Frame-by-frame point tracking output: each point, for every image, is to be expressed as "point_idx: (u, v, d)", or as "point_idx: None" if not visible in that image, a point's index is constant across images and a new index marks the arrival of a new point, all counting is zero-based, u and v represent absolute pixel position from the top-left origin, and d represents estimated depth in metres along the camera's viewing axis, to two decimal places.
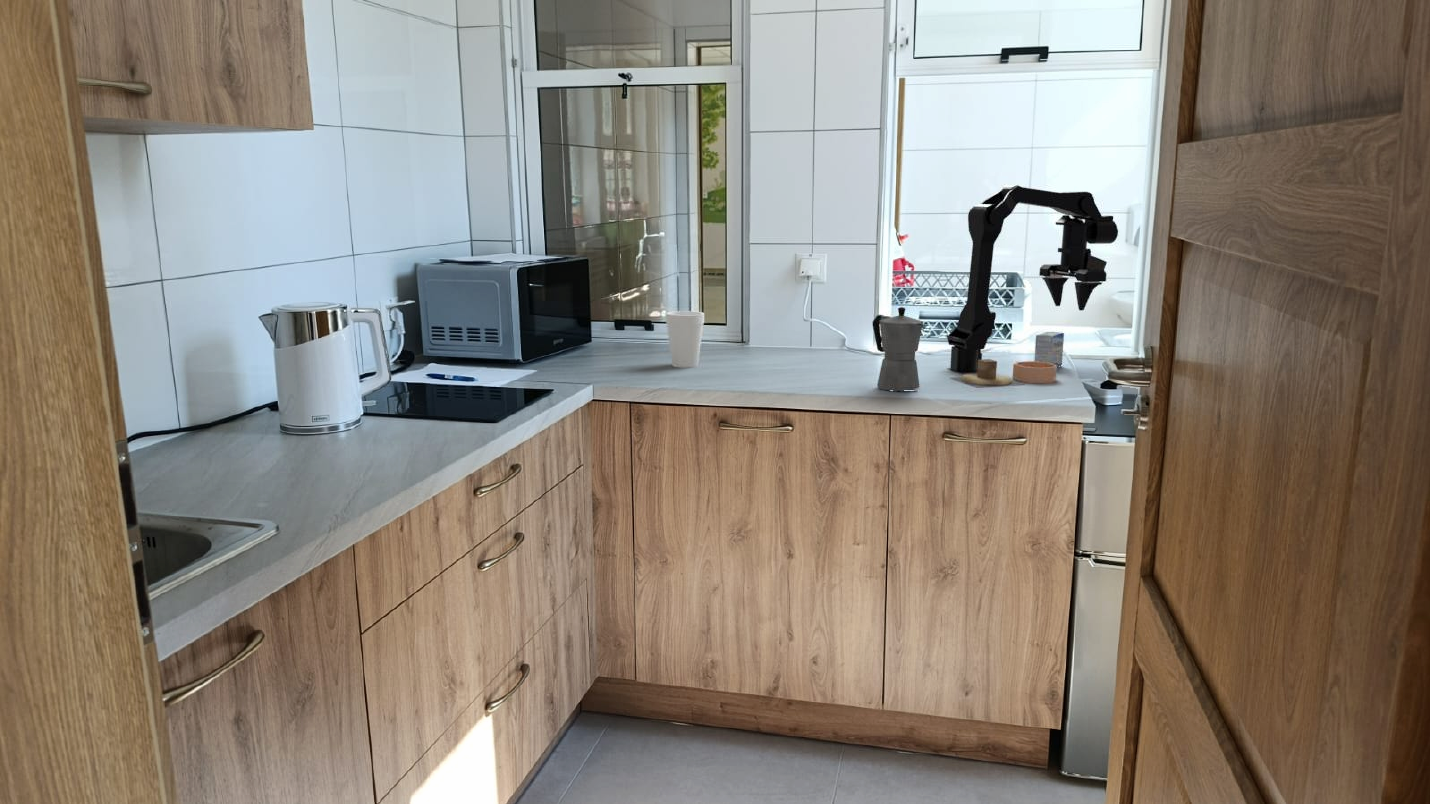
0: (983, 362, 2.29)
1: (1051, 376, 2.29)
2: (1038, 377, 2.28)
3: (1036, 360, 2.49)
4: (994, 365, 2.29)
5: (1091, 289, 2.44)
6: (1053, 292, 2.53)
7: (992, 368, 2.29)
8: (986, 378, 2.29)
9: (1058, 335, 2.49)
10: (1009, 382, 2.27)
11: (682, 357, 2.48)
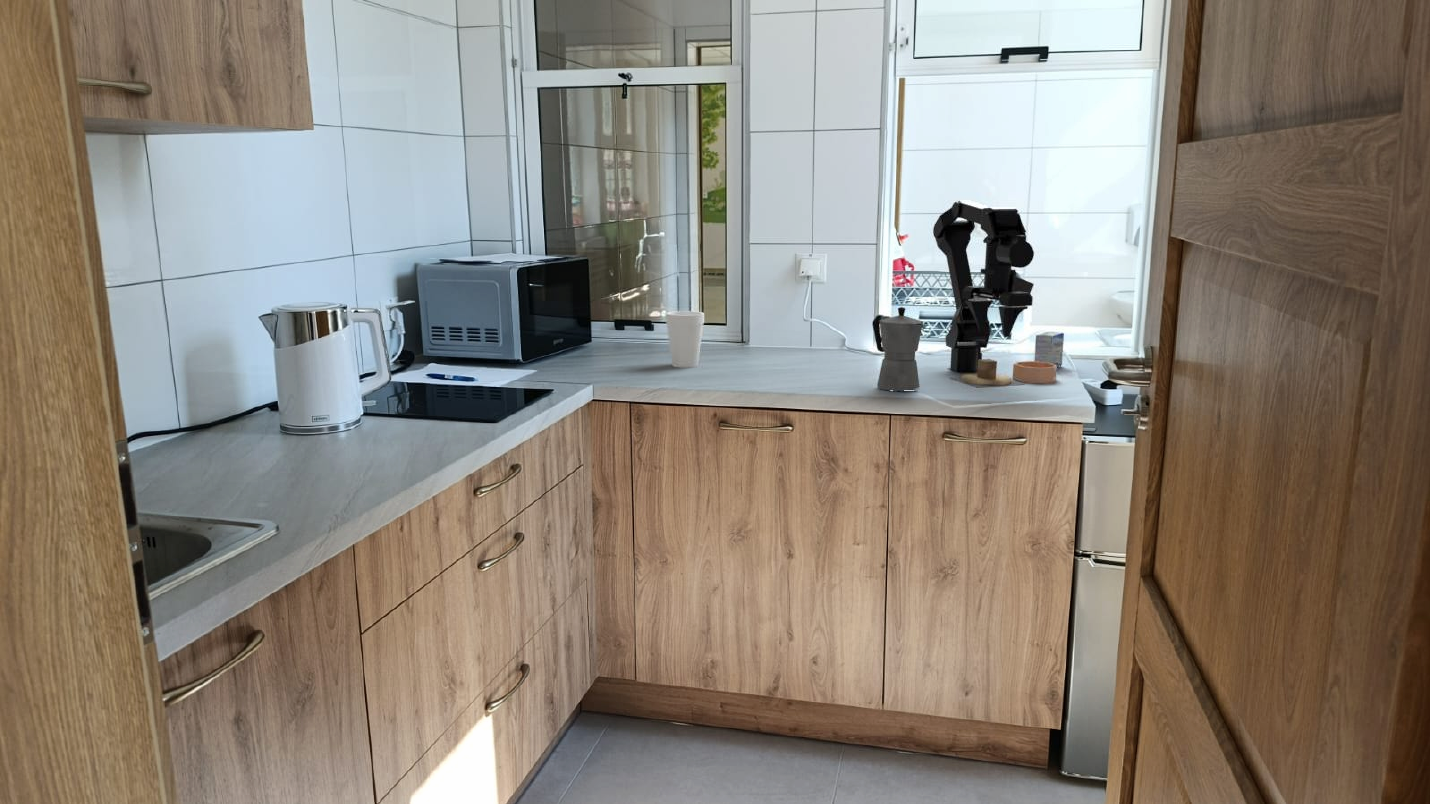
0: (983, 362, 2.29)
1: (1051, 376, 2.29)
2: (1038, 377, 2.28)
3: (1036, 360, 2.49)
4: (994, 365, 2.29)
5: (1016, 314, 2.23)
6: (977, 316, 2.32)
7: (992, 368, 2.29)
8: (986, 378, 2.29)
9: (1058, 335, 2.49)
10: (1009, 382, 2.27)
11: (682, 357, 2.48)
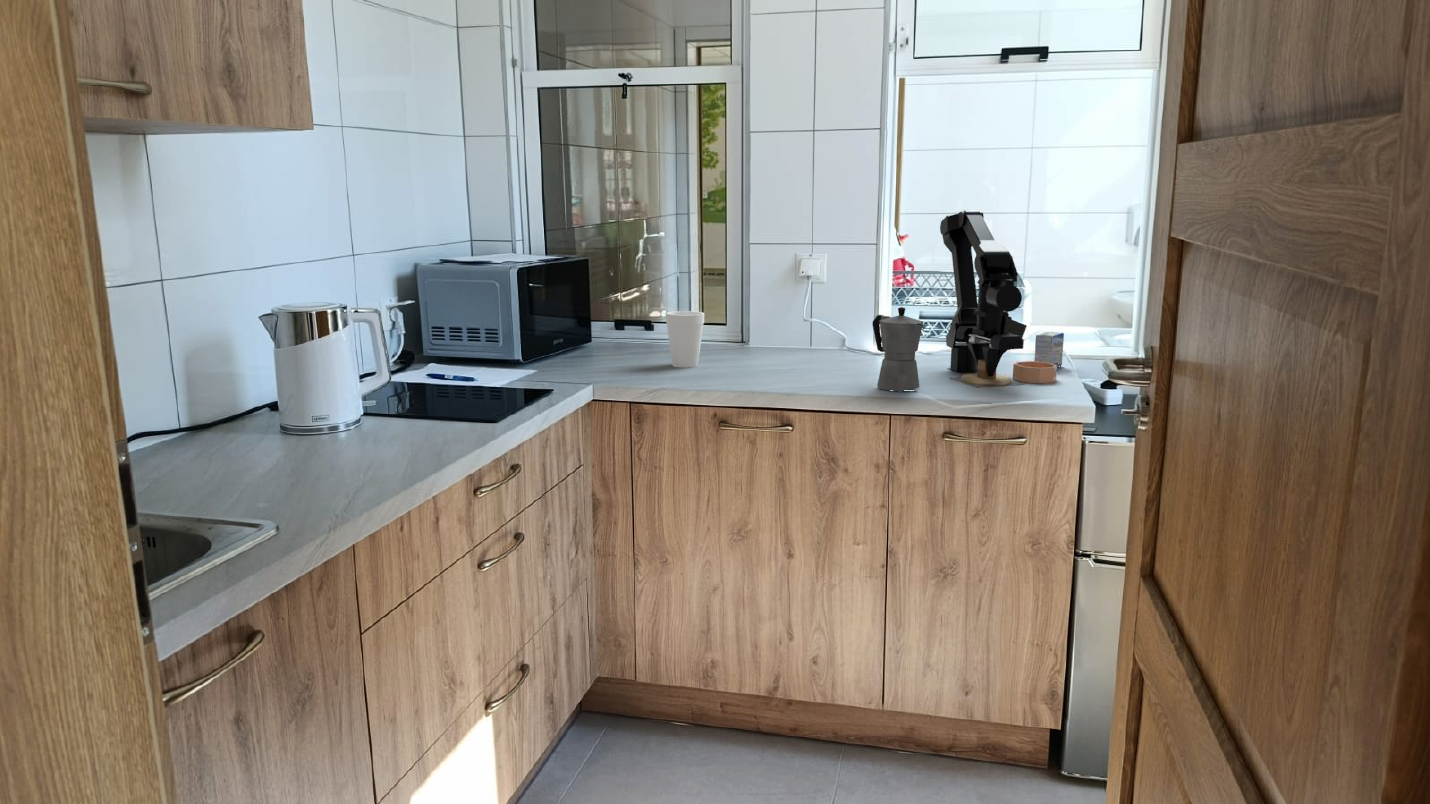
0: (983, 362, 2.29)
1: (1051, 376, 2.29)
2: (1038, 377, 2.28)
3: (1036, 360, 2.49)
4: None
5: (1000, 354, 2.27)
6: (977, 359, 2.31)
7: None
8: (986, 378, 2.29)
9: (1058, 335, 2.49)
10: (1009, 382, 2.27)
11: (682, 357, 2.48)
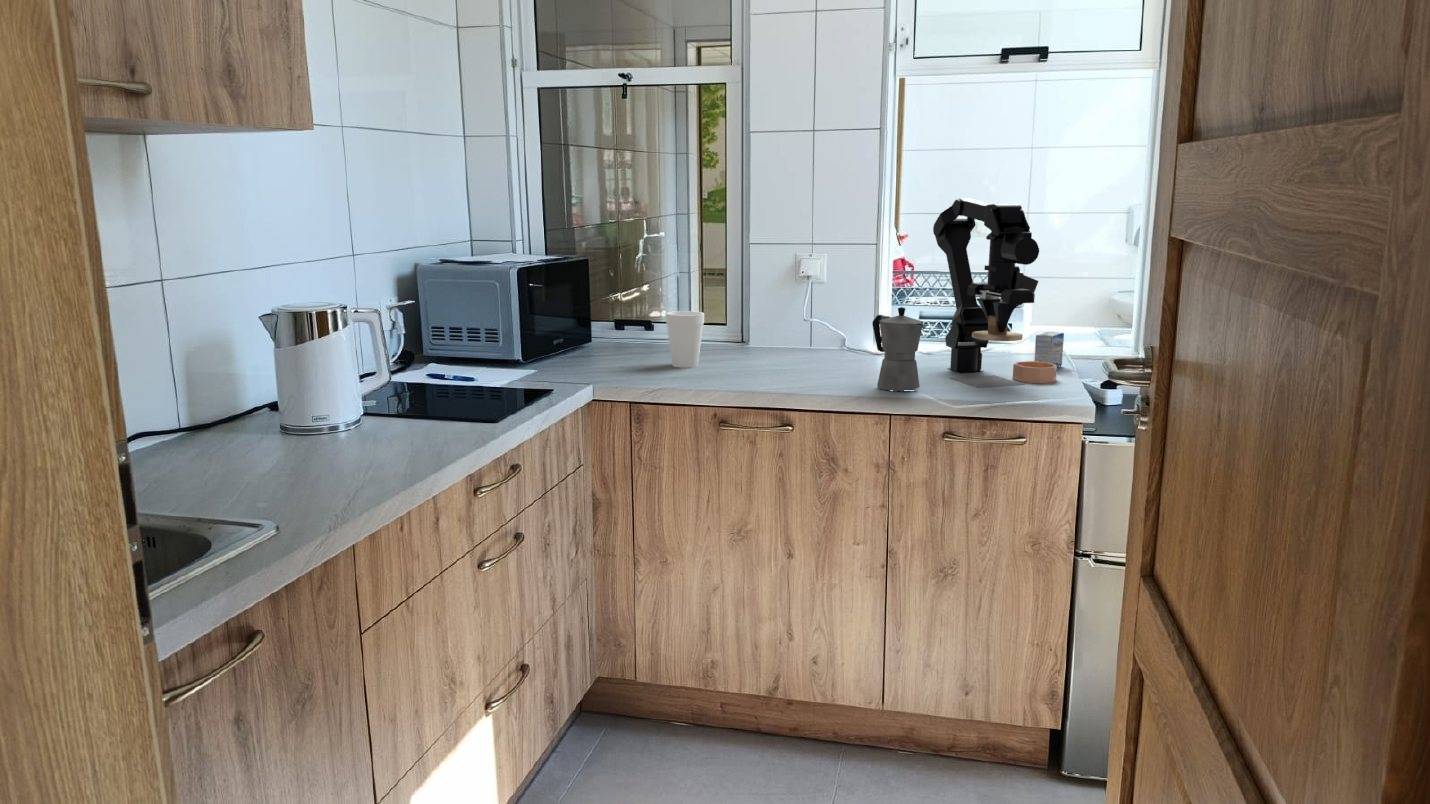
0: (994, 318, 2.27)
1: (1051, 376, 2.29)
2: (1038, 377, 2.28)
3: (1036, 360, 2.49)
4: None
5: (1011, 309, 2.25)
6: (988, 315, 2.29)
7: None
8: (997, 334, 2.27)
9: (1058, 335, 2.49)
10: (1020, 338, 2.26)
11: (682, 357, 2.48)
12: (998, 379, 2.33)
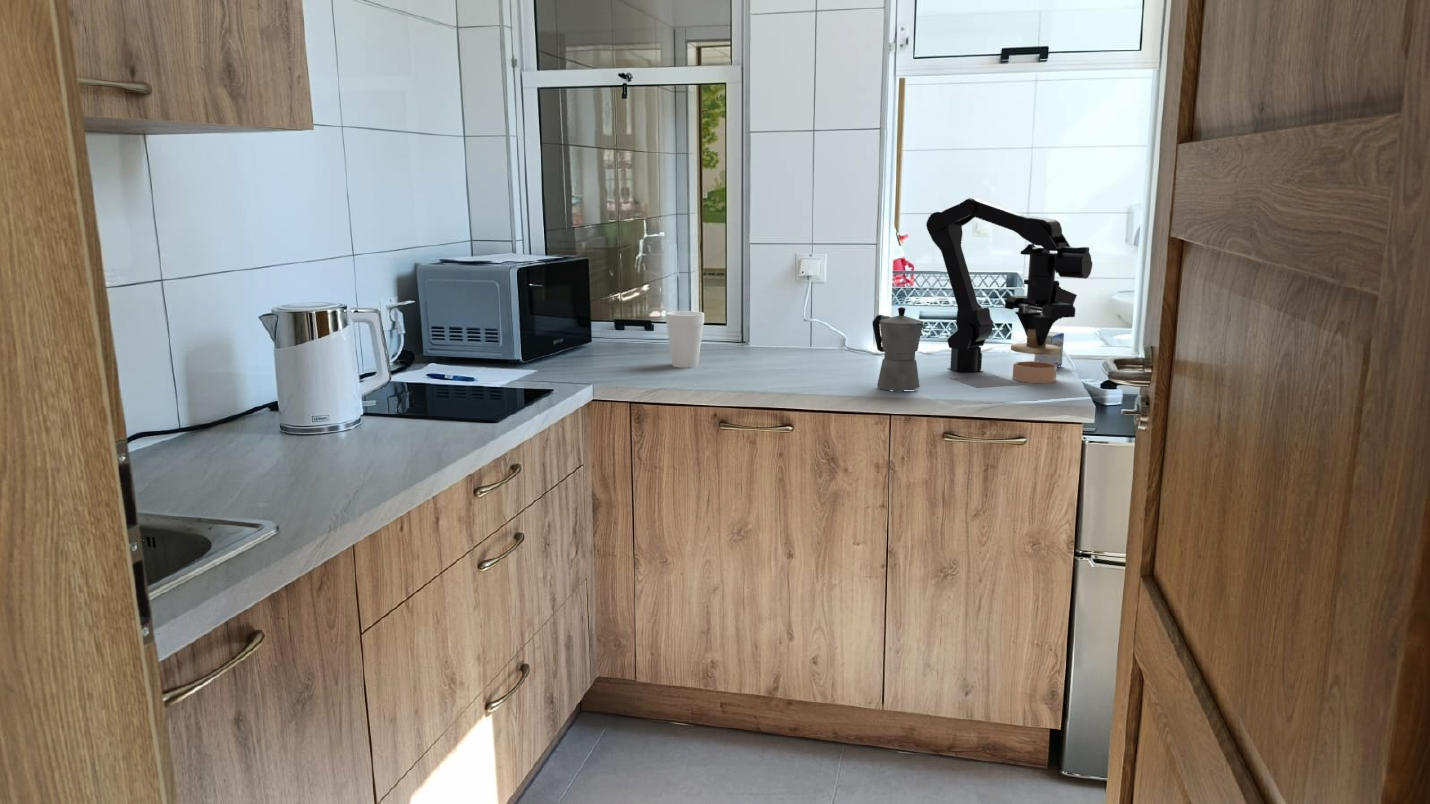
0: (1033, 331, 2.30)
1: (1051, 376, 2.29)
2: (1038, 377, 2.28)
3: (1036, 360, 2.49)
4: None
5: (1051, 323, 2.28)
6: (1027, 328, 2.32)
7: None
8: (1036, 347, 2.30)
9: (1058, 335, 2.49)
10: (1059, 351, 2.29)
11: (682, 357, 2.48)
12: (998, 379, 2.33)
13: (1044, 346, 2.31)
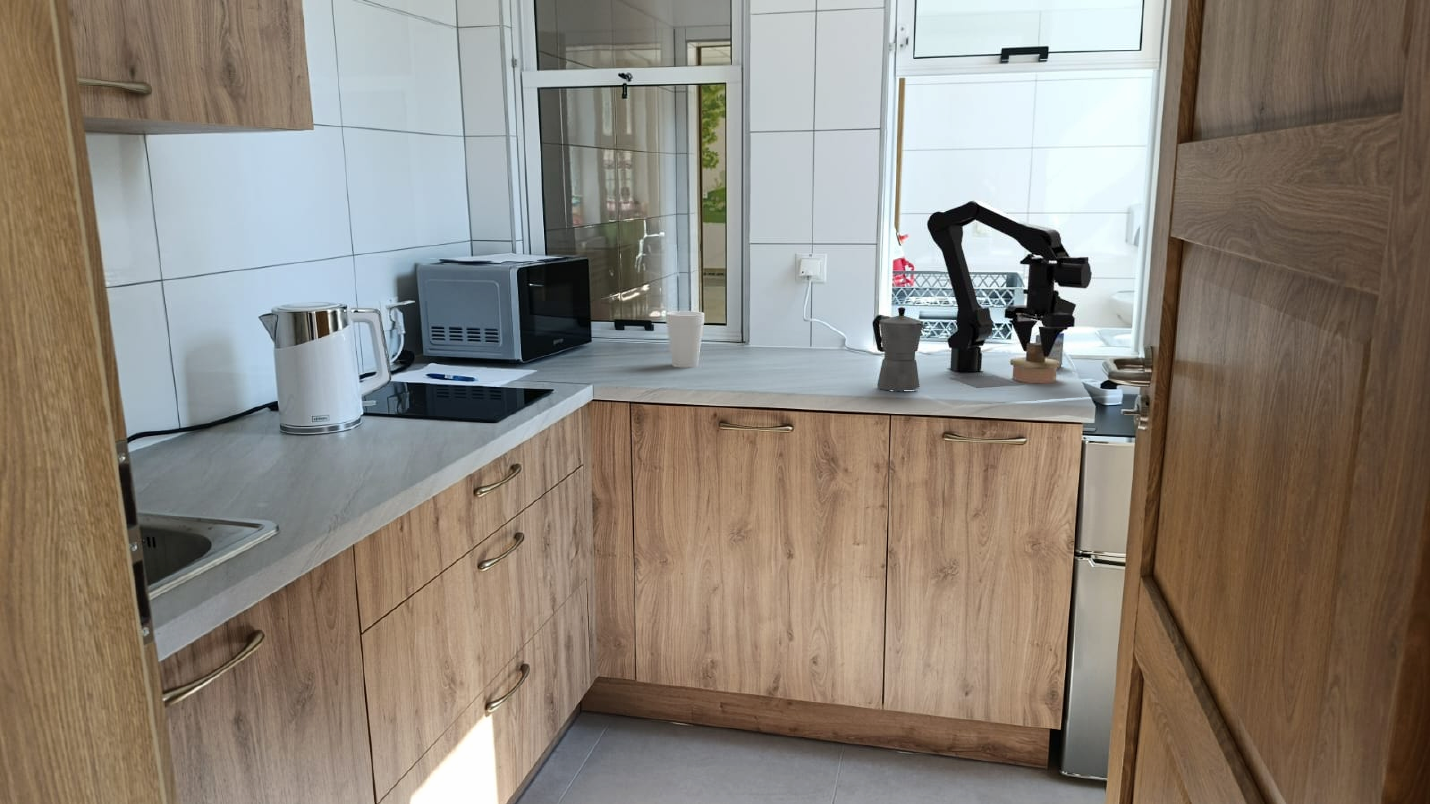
0: (1032, 345, 2.31)
1: (1051, 376, 2.29)
2: (1038, 377, 2.28)
3: None
4: None
5: (1056, 334, 2.26)
6: (1021, 336, 2.35)
7: (1041, 351, 2.31)
8: (1035, 361, 2.31)
9: (1058, 335, 2.49)
10: (1058, 365, 2.29)
11: (682, 357, 2.48)
12: (998, 379, 2.33)
13: (1043, 360, 2.31)
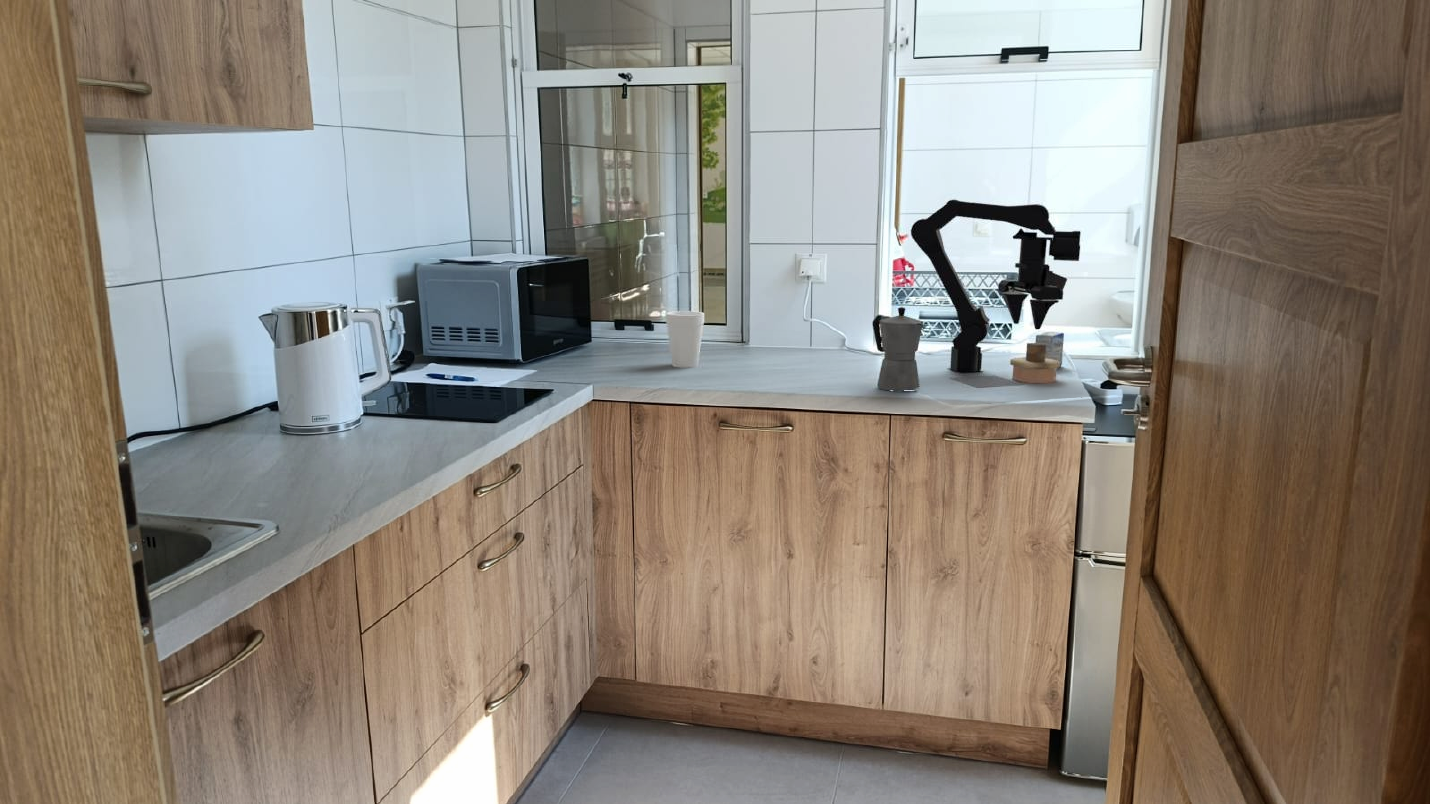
0: (1032, 345, 2.31)
1: (1051, 376, 2.29)
2: (1038, 377, 2.28)
3: None
4: (1043, 348, 2.31)
5: (1047, 307, 2.31)
6: (1011, 309, 2.41)
7: (1041, 351, 2.31)
8: (1035, 361, 2.31)
9: (1058, 335, 2.49)
10: (1058, 365, 2.29)
11: (682, 357, 2.48)
12: (998, 379, 2.33)
13: (1043, 360, 2.31)
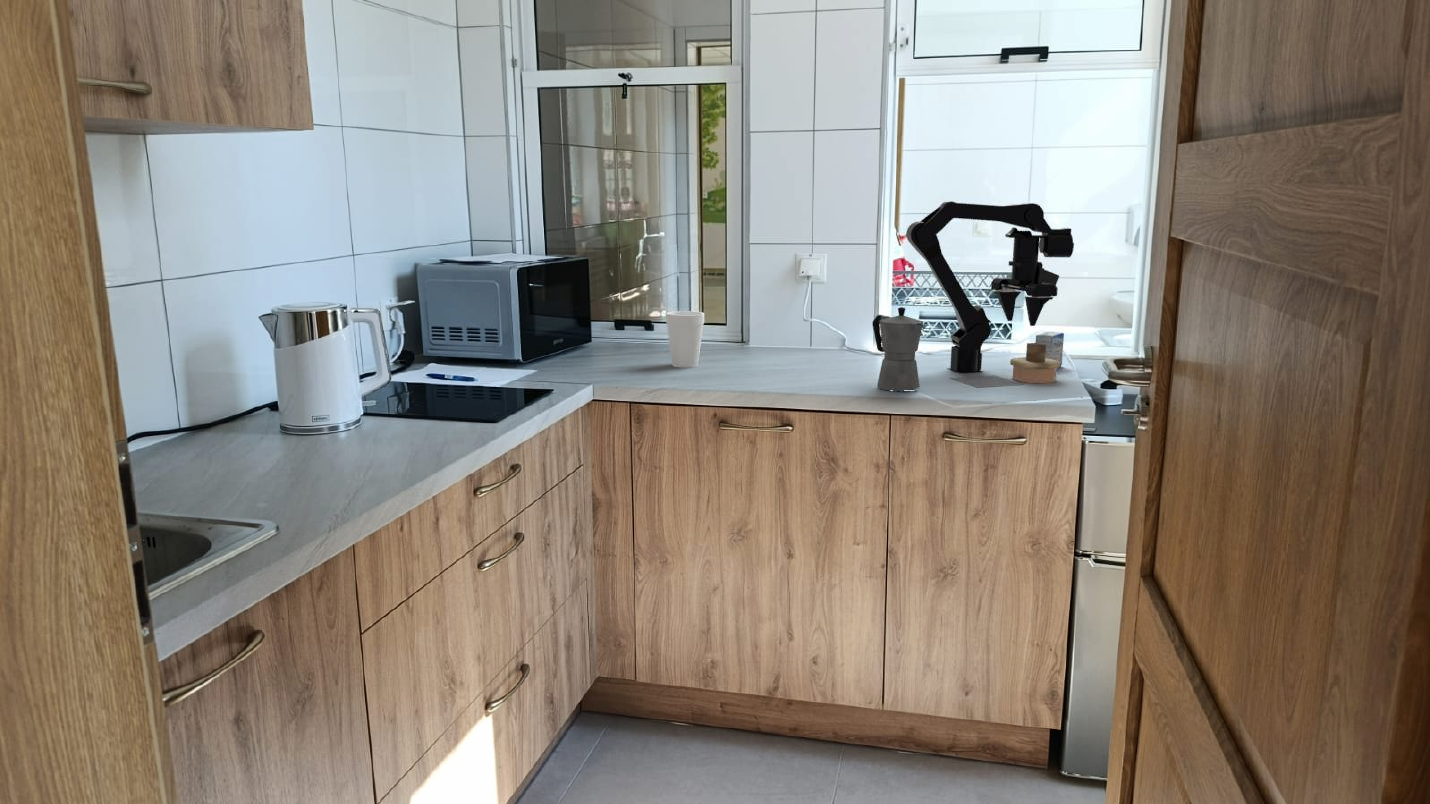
0: (1032, 345, 2.31)
1: (1051, 376, 2.29)
2: (1038, 377, 2.28)
3: None
4: (1043, 348, 2.31)
5: (1042, 304, 2.35)
6: (1005, 306, 2.45)
7: (1041, 351, 2.31)
8: (1035, 361, 2.31)
9: (1058, 335, 2.49)
10: (1058, 365, 2.29)
11: (682, 357, 2.48)
12: (998, 379, 2.33)
13: (1043, 360, 2.31)
